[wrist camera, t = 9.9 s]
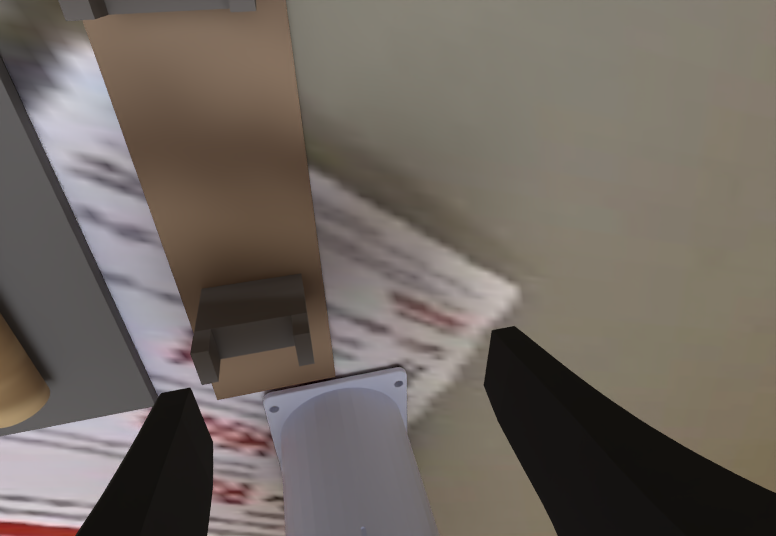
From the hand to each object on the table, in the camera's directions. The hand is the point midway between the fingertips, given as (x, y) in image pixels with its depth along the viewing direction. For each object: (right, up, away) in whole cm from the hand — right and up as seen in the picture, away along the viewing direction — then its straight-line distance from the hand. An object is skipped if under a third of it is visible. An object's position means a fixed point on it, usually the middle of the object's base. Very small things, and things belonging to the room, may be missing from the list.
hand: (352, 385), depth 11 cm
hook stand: (-5, +7, +7) cm, 11 cm away
